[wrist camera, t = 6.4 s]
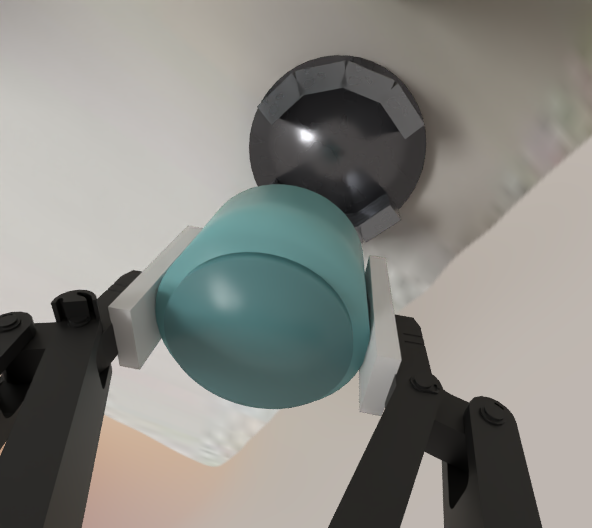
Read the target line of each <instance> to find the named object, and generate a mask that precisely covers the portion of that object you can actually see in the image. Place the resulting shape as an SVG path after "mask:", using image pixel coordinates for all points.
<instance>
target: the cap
mask: <svg viewBox="0 0 592 528" xmlns="http://www.w3.org/2000/svg"><path fill="white" fill-rule="evenodd" d="M155 313H156V322H157V325H158V329H159V333H160V335H161V337H162V340H163V342H164V344H165V346H166V347H167V349H168V351H169V352H170V354H171V355H172V356H173V358H174V359H175V360H176V361H177V363H178V364H179V365H180V367H181V368H182V369H183V370H184V371H185V372H186V373H187V374H188V375H189V376H190V377H191V378H192V379H193V380H194V381H195V382H197V383H198V384H199V385H201V386H202V387H203V388H205V389H206V390H208V391H210V392H212V393H213V394H215V395H217V396H219V397H221V398H224V399H226V400H229V401H231V402H234V403H237V404H241V405H245V406H249V407H255V408H264V409H283V408H292V407H296V406H301V405H304V404H308V403H311V402H313V401H317V400H320V399H322V398H324V397H326V396H328V395H331V394H332V393H334V392H336V391H337V390H339V389H340V388H342V387H343V386H344V385H345V384H347V383H348V382H349V381H350V380H351V379H352V378H353V376H355V374H356V373H357V371H358V370H359V369H360V367H361V366H362V364H363V361H364V358H365V354H366V351H367V347H368V344H369V340H370V327H369V315H368V304H367V293H366V282H365V271H364V260H363V250H362V246H361V241H360V239H359V236H358V234H357V231H356V230H355V228H354V226H353V224H352V223H351V221H350V220H349V219H348V217H347V216H346V215H345V214H344V213H343V212H342V211H341V210H340V209H339V208H338V207H337V206H336V205H335V204H333V203H332V202H331V201H329V200H328V199H326V198H325V197H323V196H321V195H319V194H318V193H315V192H313V191H310V190H308V189H305V188H301V187H297V186H292V185H285V184H271V185H262V186H258V187H254V188H250V189H248V190H246V191H243V192H241V193H239V194H237V195H236V196H234V197H232V198H231V199H230V200H228V201H227V202H226V203H225V204H224V205H223V206H222V207H221V208H220V209H219V210H218V211H217V212H216V214H215V215H214V216H213V217H212V218H211V220H210V221H209V222H208V223H207V224H206V225H205V227H204V228H203V229H202V230H201V231H200V232H199V234H198V235H197V236H196V237H195V238H194V239H193V241H192V242H191V243H190V244H189V245H188V247H187V248H186V249H185V250H184V251H183V252H182V254H181V255H180V256H179V257H178V258H177V259H176V261H175V262H174V263H173V264H172V265H171V266H170V268H169V269H168V270H167V272H166V274H165V275H164V277H163V278H162V281H161V283H160V285H159V288H158V291H157V296H156V304H155Z"/></svg>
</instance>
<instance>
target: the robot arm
mask: <svg viewBox="0 0 592 528" xmlns="http://www.w3.org/2000/svg"><path fill="white" fill-rule="evenodd" d="M202 229H203V228H199V227H193V226H187V227H186V228H185V229H184V230H183V231H182V232H181V233H180V234H179V235H178V236H177V237H176V238H175V239H174V240H173V241H172V242H171V243H170V244H169V245H168V246H167V248H166V249H165V250H164V251H163V252H162V253H161V254H160V255H159V256H158V257H157V258H156V259H155V260H154V261H153V262H152V263H151V264H150V265H149V266H148V267H147V268H146V269H145V270H144V271H143V272H141V271H135V270H133V271H131V272H129V273H127V274H125V275H122V276H121V277H120V278H119V279H118V280H117V281H116V282H115V283H114V285H112V286H111V287H109V288H108V290H106V291H105V292H104V293H103V294H102V295H101V296H100V297H99V298H98V299H97V298H96V295H95V294H94V293H93V292H90V291H87V290H74V291H69V292H66V293H63V294H61V295H59V296H58V297H56V298H55V299H54V300H53V301H52V302H51V305H52V309H53V312H54V315H55V319H56V322H53V323H34V322H33V319H32V316H31V315H29V314H28V313H24V312H11V313H6V314H2V315H0V375H1V377H0V449H1V448H2V446H3V445H4V444H5V442H6V444H5V446H4V449H3V451H2V453H1V455H0V528H82V522H83V518H84V512H85V508H86V503H87V498H88V492H89V487H90V482H91V477H92V472H93V467H94V462H95V457H96V451H97V447H98V441H99V436H100V431H101V426H102V421H103V416H104V411H105V406H106V401H107V396H108V391H109V385H110V380H111V375H112V366H111V362H112V361H113V360H114V358H115V357H116V356H117V355H118V359H119V364H120V366H123V367H128V368H134V369H139V370H140V368H141V367H142V366H143V364H144V363H145V361H146V360H147V358H148V357H149V355H150V354H151V352H152V351H153V350H154V348H155V347H156V345H157V344H158V342H159V341H160V339H161V338H162V337H161V335H160V333H159V329H158V325H157V322H156V313H155V304H156V296H157V291H158V288H159V285H160V283H161V281H162V278H163V277H164V275H165V274H166V272H167V270H168V269H169V268H170V266H171V265H172V264H173V263H174V262H175V261H176V259H177V258H178V257H179V256H180V255H181V254H182V252H183V251H184V250H185V249H186V248H187V247H188V245H189V244H190V243H191V242H192V241H193V239H194V238H195V237H196V236H197V235H198V234H199V232H200V231H201V230H202ZM365 282H366V293H367V304H368V315H369V327H370V340H369V344H368V347H367V351H366V354H365V358H364V361H363V364H362V366H361V367H360V369H359V400H360V401H359V403H360V412H363V413H368V414H373V415H379V416H382V417H381V419H380V421H379V423H378V425H377V427H376V429H375V431H374V433H373V435H372V437H371V439H370V441H369V444H368V446H367V448H366V450H365V452H364V454H363V456H362V458H361V460H360V462H359V464H358V466H357V469H356V471H355V473H354V475H353V477H352V479H351V481H350V483H349V485H348V487H347V489H346V491H345V494H344V496H343V498H342V500H341V502H340V504H339V506H338V508H337V510H336V512H335V514H334V516H333V518H332V520H331V523H330V525H329V527H328V528H400V525H401V522H402V519H403V516H404V513H405V510H406V507H407V504H408V501H409V498H410V495H411V491H412V488H413V485H414V482H415V479H416V475H417V473H418V469H419V466H420V463H421V460H422V457H423V454H424V452H427V453H428V454H430V455H432V456H434V457H436V458H438V459H441V460H442V479H443V508H444V528H542V525H541V521H540V517H539V512H538V508H537V505H536V500H535V497H534V492H533V488H532V484H531V480H530V476H529V472H528V468H527V464H526V460H525V456H524V452H523V448H522V444H521V440H520V436H519V432H518V427H517V423H516V421H515V418H514V416H513V414H512V413H511V412H510V411H509V410H508V409H507V408H506V407H505V406H503V405H502V404H501V403H500V402H498V401H496V400H494V399H491V398H488V397H483V396H480V397H474V398H473V399H472V400H471V401H470V403H469V402H467V401H464V400H462V399H460V398H457V397H455V396H453V395H451V394H449V393H447V392H446V391H445V390H443V387H442V385H441V383H440V382H439V380H438V379H437V378H436V377H435V376H434V375H432V373H431V369H430V365H429V361H428V357H427V353H426V348H425V346H424V340H423V338H422V332H421V328H420V326H419V325H418V323H417V322H416V321H415V320H414V318H412V317H406V316H400V315H395V314H394V308H393V302H392V295H391V289H390V282H389V276H388V269H387V263H386V258H383V257H377V256H371V255H370V256H369V260H368V264H367V268H366V272H365ZM384 407H385V410H384ZM383 410H384V412H383ZM382 413H383V414H382Z"/></svg>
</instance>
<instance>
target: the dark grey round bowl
mask: <svg viewBox="0 0 592 528" xmlns="http://www.w3.org/2000/svg"><path fill="white" fill-rule="evenodd" d="M257 107H258V110H257V112H256V114H255V117H254V120H253V123H252V128H251V133H250V142H249V153H250V162H251V168H252V172H253V175H254V178H255V181H256V183H257V185H258V186H262V185H271V184H285V185H292V186H297V187H301V188H305V189H308V190H310V191H313V192H315V193H318V194H319V195H321V196H323V197H325V198H326V199H328V200H329V201H331V202H332V203H333V204H335V205H336V206H337V207H338V208H339V209H340V210H341V211H342V212H343V213H344V214H345V215H346V216H347V217H348V219H349V220H350V221H351V223H352V224H353V226H354V228H355V230H356V231H357V234H358V236H359V239H360V241H361V243H363V239H364V240H365V241H366V242H367V241H369V240H370V239H372V238H373V237H375V236H377V235H378V234H380V233H381V232H383V231H384V230H386V229H388V228H389V227H391V226H392V225H394V224H395V223H397V222H399V221H400V220H401V218H400V215H399V212H398V209H399V208H400V207H401V206H402V205H403V204H404V202H405V201H406V200H407V199H408V197H409V196H410V194H411V193H412V191H413V190H414V188H415V186H416V184H417V182H418V180H419V177H420V174H421V171H422V168H423V164H424V159H425V152H426V135H425V127H424V125H425V124H424V122H423V118H422V115H421V112H420V110H419V107H418V105H417V103H416V101H415V99H414V97H413V96H412V94H411V93H410V91H409V90H408V89H407V87H406V86H405V85H404V84H403V83H402V82H401V81H400V80H399V79H398V78H397V77H396V76H395V75H394V74H392V73H391V72H390V71H388V70H387V69H386V68H384V67H382V66H380V65H378V64H376V63H374V62H372V61H369V60H366V59H363V58H359V57H353V56H340V55H334V56H327V57H321V58H317V59H314V60H310V61H308V62H305V63H303V64H301V65H299V66H297V67H295V68H294V69H292V70H291V71H289V72H288V73H286V74H285V75H284V76H283V77H281V78H280V79H279V80H278V81H277V82H276V83H275V84H274V85H273V86H272V88H271V89H270V90H269V91H268V92H267V94H266V95H265V97H264V98H263V100H262V101H261V103H260V104H259V105H258V106H257Z"/></svg>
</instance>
